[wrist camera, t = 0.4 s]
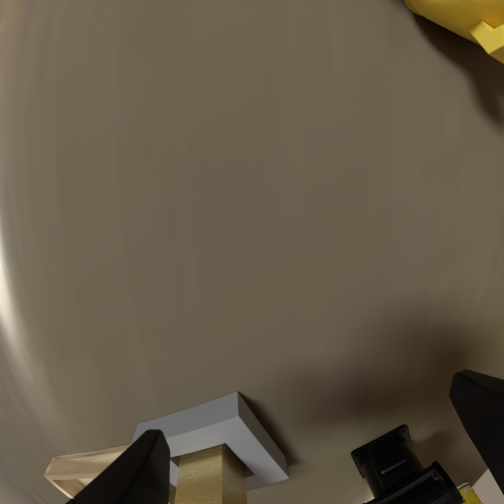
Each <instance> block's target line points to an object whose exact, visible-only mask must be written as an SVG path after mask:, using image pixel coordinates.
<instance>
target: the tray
mask: <svg viewBox="0 0 504 504" xmlns="http://www.w3.org/2000/svg"><path fill="white" fill-rule="evenodd" d="M130 445H131V444H128V445H123V446H118V447H113V448H108V449H102V450H97V451H91V452H84V453H77V454H70V455H62V456H53V458H52V460H51V462H50V464H49V466H48V468H47V470H46V472H45V474H44V477H46V478H47V479H48V480H49V481H50V482H51V483H52V484H54V485H55V486H56V487H57V488H58V489H59V490H61V491H62V492H63V493H64V494H66V495H67V496H68V497H69V498H74V496H75V495H76V494H77V493H78V492H80V491H81V490H82V489H83V488H84V487H85V486H86V485H88V484H89V483H90V482H91V481H92V480H93V479H94V478H95V477H97V476H98V475H99V474H100V473H101V472H102V471H103V470H104V469H105V468H106V467H108V466H109V465H110V464H111V463H112V462H113V461H114V460H115V459H116V458H117V457H118V456H120V455H121V454H122V453H123V452H124V451H125V450H126V449H127V448H128V447H129V446H130ZM175 495H176V487H175V486H174V485H173V484H171V483H170V489H169V502H168V504H174V503H175Z"/></svg>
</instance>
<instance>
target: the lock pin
mask: <svg viewBox="0 0 504 504" xmlns="http://www.w3.org/2000/svg"><path fill="white" fill-rule="evenodd" d="M174 504H247V497H246V484H245V471H244V462H243V461H242V460H241V459H240V458H239V457H238V456H237V455H236V454H235V453H234V452H233V451H232V449H231V448H230V447H229V446H228V445H227V444H226V443H223V444H220V445H216V446H213V447H210V448H206V449H202V450H199V451H195V452H191V453H187V454H183V455H181V457H180V464H179V471H178V479H177V487H176V495H175V503H174Z"/></svg>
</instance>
